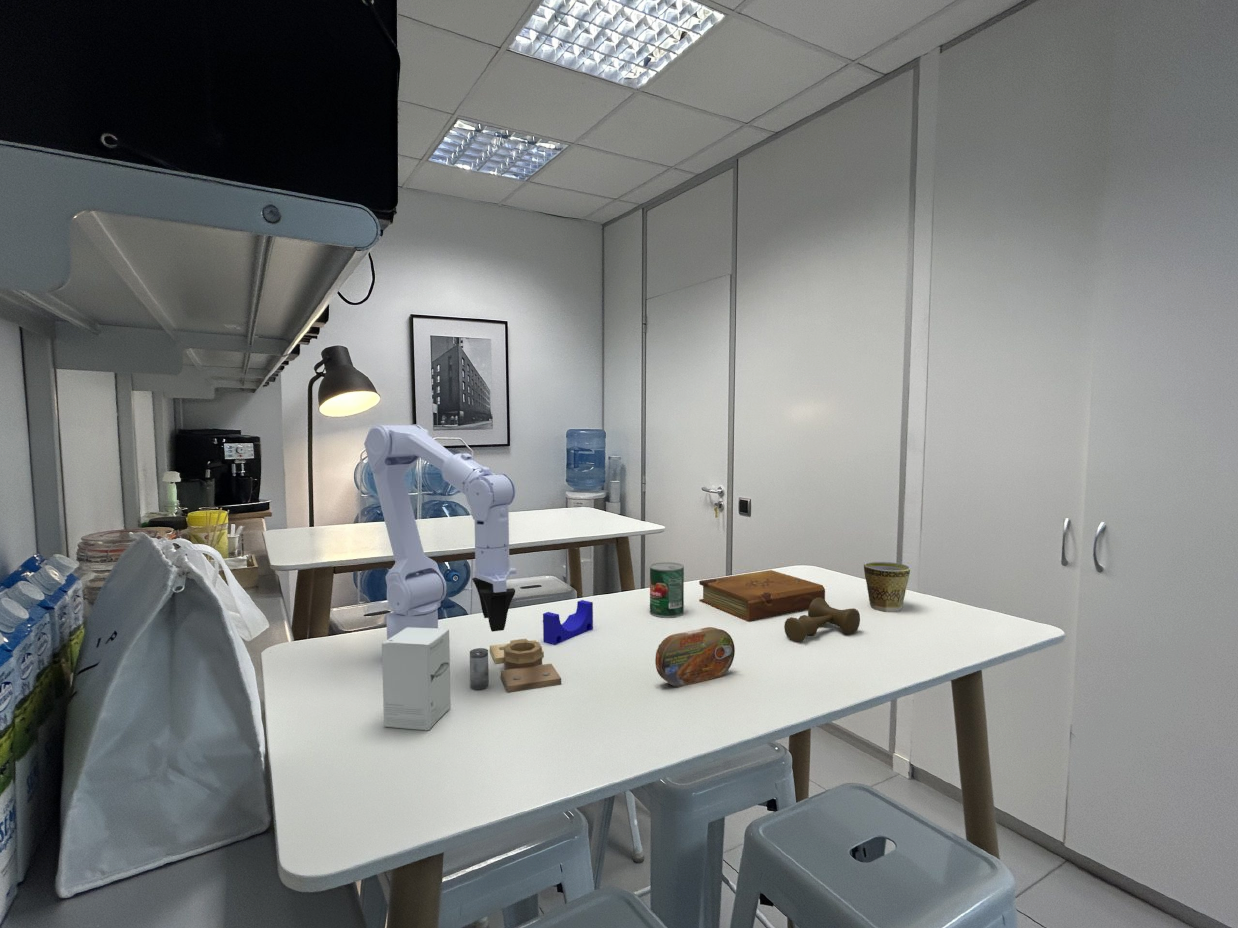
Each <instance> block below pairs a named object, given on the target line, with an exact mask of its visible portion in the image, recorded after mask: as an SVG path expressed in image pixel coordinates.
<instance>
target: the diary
mask: <svg viewBox="0 0 1238 928" xmlns="http://www.w3.org/2000/svg"><path fill="white" fill-rule="evenodd" d="M698 583H699V585H700V586H702V598H700V599H699V602H700V603H702V604H705V605H707V606H709V605H710V607H711V608H714V609H717V610H719V611H722V612H724V613H726V614H729V615H731V616H732V617H735V618H737V619H740V620H743V621H745V622H753V621H754V622H755V621H758V620H764V619H768V618H774V617H778V616H783V615H784V616H785V615H789V614H794V613H800V612H803V611H808V609H809V606H810V603H811V602H812V601H813V600H814V599H815V598H822V599H824V600H825V601H826V589H825V586H824V585H823V584H820V583H817V582H813V581H809V580H806V579H802V578H800V577H796V576H793V575H789V574H786V573H782V572H779V571H775V570H772V569H769V570H762V571H755V572H747V573H743V574H735V575H730V576H729V575H728V576H721V577H716V578H715V577H714V578H710V579H704V580H703V579H701V580H699V582H698Z"/></svg>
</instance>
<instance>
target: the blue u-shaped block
mask: <svg viewBox="0 0 1238 928" xmlns="http://www.w3.org/2000/svg"><path fill="white" fill-rule="evenodd" d="M593 603H594V602H592V601H589V600H584V599H581V600H578V601H577V604H576V610H575V612H574V613H572V614H569V615H568V616H567V618H566V620H565V621H564V622H563V623H561V621H560V620H561V619H560V614H559V613H554V612H551V611H550V612H549V611H547V612H544V613H542V625H543V626H542V630H543V631H542V632H543V635H542V636H543V643H544V644H545V643H546V644H549V645H552V646H556V645H559V644H562V643H564V642H566V641H568V640H571V639H574V638H576V637H578V636H580V635H583V634H585V633H588V632H590V631H593V630H594V609H593V608H594V607H593V606H594V604H593ZM575 636H576V637H575Z"/></svg>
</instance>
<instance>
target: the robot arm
mask: <svg viewBox="0 0 1238 928" xmlns="http://www.w3.org/2000/svg"><path fill="white" fill-rule="evenodd" d="M363 445H364V449H365V453H366V456H367V460H368V464H369V469H370V472H372V475H373V480H374V484H375V488H376V492H377V497H378V501H379V503H380V508H381V511H382V516H383V520H384V523H385V528H386V530H387V531H386V532H387V537H388V538H389V539H388V540H389V543H390V546H391V547H390V548H391V552H392V554H393V560H394V561H395V563H394V565H393V566H392V567H391V569H390V570H389V571H388V572H387V574H386V575H385V577H384V578H385V583H386V600H387V603H388V605H389V607H390V608H391V610H392V612H387V613H386V640H388V639H389V638H391V637H393V636H394V635H396V634H397V633H399V632H400V631H402V630H403V629H405V628H407V627H410V628H437V629H439V616H438V615H439V614H438V613H439V612H438V611H439V610H438V608H440V607H441V602H442V601H443V600H444V599H445V597H446V595H447V589H448V588H447V587H448V586H447V582H446V580H445V577H444V575H443V574H442V573H441V570H440V569H439V566H438V565H439V564H438V562H436V561H435V560H434V559H432V558H430V557H428V556H427V555H426V554H425V552H424V548H423V545H422V544H423V543H422V540H421V536H420V533H419V530H418V525H417V522H416V517H415V514H414V510H413V506H412V505H413V504H412V502H411V497H410V494H409V490H408V487H407V484H406V483H407V482H406V480H405V476H406V474H407V472H408V471H410V470H411V469H412V468H413V467H414V466H415V465H416V463H418V461H419V460H420V459H421V460H423V461H425V462H427V463H428V464H430V465H432V466H433V467H435V468H436V469H439V470H440V471H441V476H442V478H443V481H445V482H446V483H448V485H450V486H452V487H454V488H455V489H456V490H457V491H459V492H460V493H461V494H463V495H465V497H466V499H465V500H466V501H467V504H468V505H469V507H470V511H471V512H470V513H471V517H472V520H473V522H474V523H473V524H474V559H475V561H474V562H475V563H474V568H475V570H474V572H473V573H474V574H473V575H474V577H472V578H471V581H472V582H473V583H474V585H475V588H476V590H477V594H478V598H479V602H480V606H481V610H482V611H481V612H482V614H483V615H482V616H483V618H484V619H488V624H489V628H490V630H491V632H501V631H505V627H506V623H507V618H508V612H509V609H510V605H511V603H512V600H513V598H514V596H515V594H516V589H515V588H514V587H512V588H507V581H508V580H509V577H510V576H511V575H514V574H515V575H516V574H517V569H516V568H515V567H510V527H509V525H510V524H509V523H510V521H509V520H510V519H509V513H510V512H509V505H511V504H512V503H513V502H514V500H515V497H516V487H515V483H514V481H513V479H512V478H511V477H510V476H509V475H508V474H507V473H505V472H504V473H503V472H498V473H494V472H492V471H491V469H490V468H489V467H488V466H483V465H481V463H478V462H477V461H475V460H473V455H471V454H470V453H468V452H467V453H455V454H454V453H452V452H451V451H450V450H448V449H447V448H446V447H444V446H443V445H442V444H440V442H438V441H437V440H436V439H434V438H433V437H431V435H430V432H429V430H428V429H426V428H423V427H422V426H421V425H419V424H415V423H414V424H409V425H408V424H406V425H405V424H397V425H396V424H393V425H392V424H391V425H384V424H375V425H373V426H372V427H371V428H370V429H369V430H368V433H367V436H366V437H365V441H364V444H363ZM412 574H413V575H412ZM414 574H415V575H414ZM408 575H410V576H408Z"/></svg>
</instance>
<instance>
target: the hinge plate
mask: <svg viewBox="0 0 1238 928" xmlns="http://www.w3.org/2000/svg"><path fill="white" fill-rule="evenodd" d="M503 666H504V669H503V670H500V677H501V680H502V682H503V684H504V687H505V689H506V692H507V693H512V692H519V691H520V692H521V691H525V690H531V689H539V688H544V687H552V686H557V685H559V686H560V685H562V678H561V676H560V674H559V673H558V670H556V669H555V667H554V665H553V664H552V663H544V664H543V657H541V658H539V659H538V660H536V661H535V662H529V663H522V664H517V663H511V662H506V660H505V658H504V663H503Z"/></svg>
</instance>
